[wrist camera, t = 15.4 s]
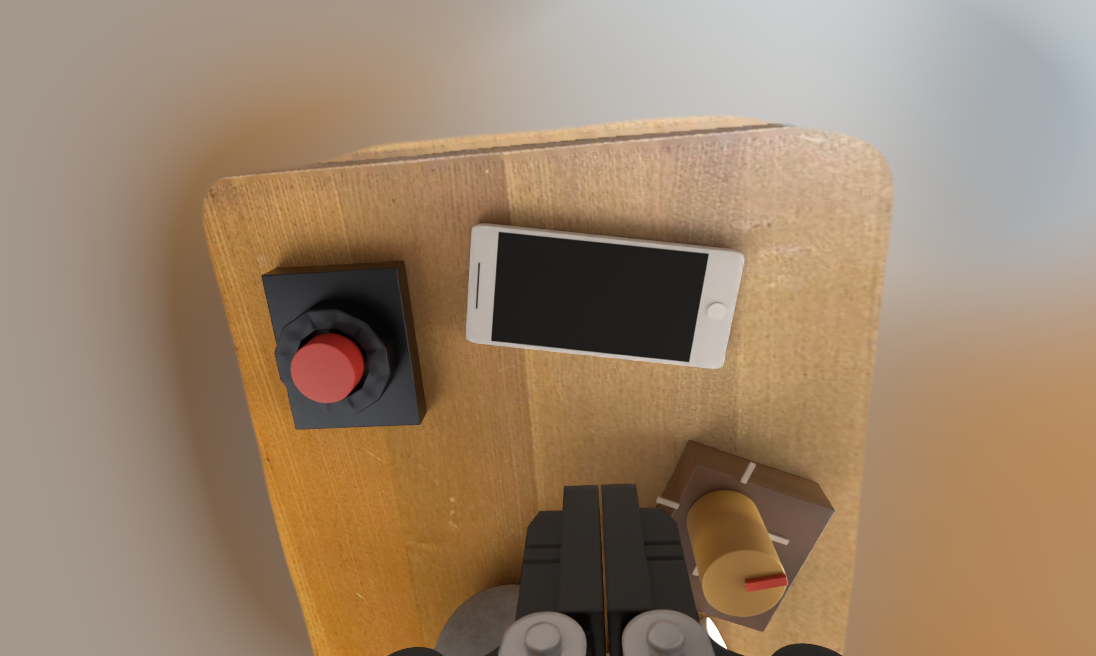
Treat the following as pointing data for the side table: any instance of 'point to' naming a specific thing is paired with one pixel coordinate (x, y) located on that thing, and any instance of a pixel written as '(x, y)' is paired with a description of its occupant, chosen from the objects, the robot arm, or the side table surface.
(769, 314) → the side table surface
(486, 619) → the decorative ball
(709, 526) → the knob
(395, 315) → the button box
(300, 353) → the button
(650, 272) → the smartphone
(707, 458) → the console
